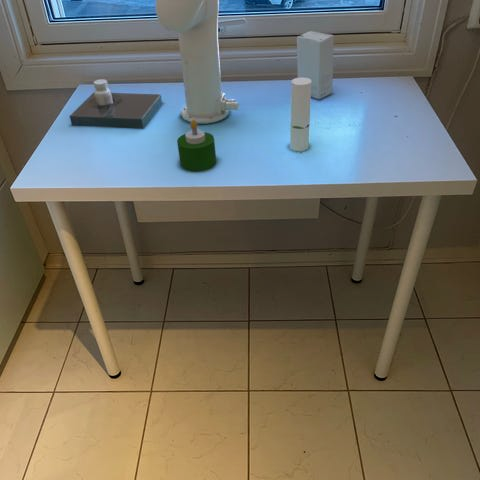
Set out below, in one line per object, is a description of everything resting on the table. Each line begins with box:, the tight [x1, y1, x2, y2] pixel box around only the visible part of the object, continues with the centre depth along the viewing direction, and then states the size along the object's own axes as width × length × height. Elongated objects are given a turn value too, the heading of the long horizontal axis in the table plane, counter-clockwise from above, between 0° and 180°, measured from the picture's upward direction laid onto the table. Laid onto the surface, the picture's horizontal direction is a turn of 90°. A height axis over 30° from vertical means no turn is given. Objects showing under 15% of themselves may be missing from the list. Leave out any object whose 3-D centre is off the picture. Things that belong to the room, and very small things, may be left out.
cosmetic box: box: [296, 30, 335, 100], centre depth 139 cm, size 8×6×15 cm
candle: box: [176, 120, 217, 172], centre depth 116 cm, size 8×8×10 cm
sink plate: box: [69, 92, 163, 129], centre depth 140 cm, size 20×16×2 cm
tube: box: [289, 77, 312, 152], centre depth 117 cm, size 4×4×15 cm
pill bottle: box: [93, 79, 113, 105], centre depth 141 cm, size 4×4×8 cm
